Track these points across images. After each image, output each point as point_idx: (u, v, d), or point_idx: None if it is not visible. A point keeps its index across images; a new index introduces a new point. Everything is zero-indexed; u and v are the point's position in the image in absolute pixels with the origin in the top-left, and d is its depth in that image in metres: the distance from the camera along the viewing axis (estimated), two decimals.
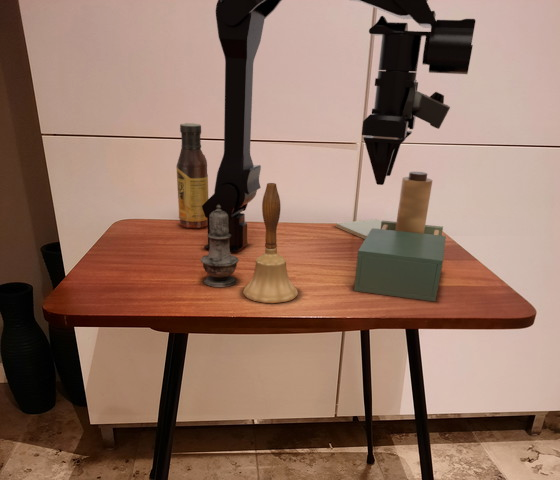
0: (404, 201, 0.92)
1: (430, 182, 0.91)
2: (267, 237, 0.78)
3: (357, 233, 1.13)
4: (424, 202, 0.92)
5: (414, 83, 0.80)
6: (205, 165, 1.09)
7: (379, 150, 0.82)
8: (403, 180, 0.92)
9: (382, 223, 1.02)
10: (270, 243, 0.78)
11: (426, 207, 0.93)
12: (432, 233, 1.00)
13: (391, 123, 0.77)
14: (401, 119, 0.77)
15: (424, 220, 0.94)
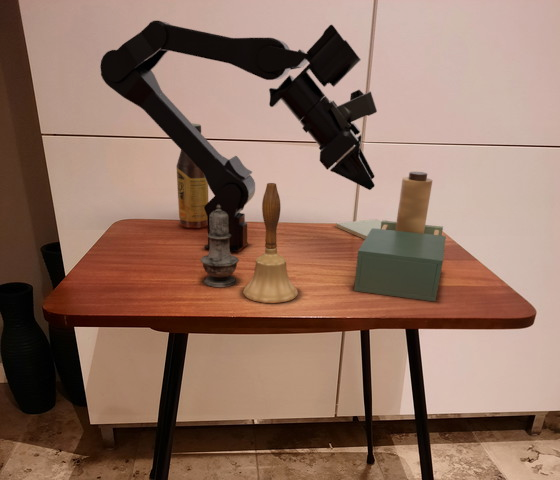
0: (404, 201, 0.92)
1: (430, 182, 0.91)
2: (267, 237, 0.78)
3: (357, 233, 1.13)
4: (424, 202, 0.92)
5: (330, 103, 0.87)
6: None
7: (349, 167, 0.87)
8: (403, 180, 0.92)
9: (382, 223, 1.02)
10: (270, 243, 0.78)
11: (426, 207, 0.93)
12: (432, 233, 1.00)
13: (339, 141, 0.83)
14: (344, 132, 0.82)
15: (424, 220, 0.94)
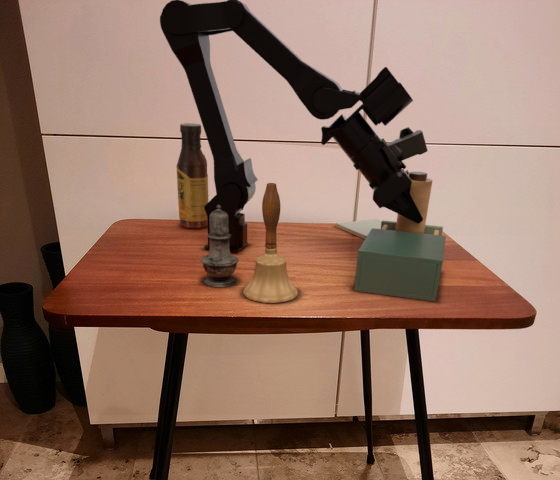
0: None
1: (430, 182, 0.91)
2: (267, 237, 0.78)
3: (357, 233, 1.13)
4: (424, 202, 0.92)
5: (382, 142, 0.88)
6: (205, 165, 1.09)
7: (399, 202, 0.91)
8: None
9: (382, 223, 1.02)
10: (270, 243, 0.78)
11: (426, 207, 0.93)
12: (432, 233, 1.00)
13: (394, 182, 0.84)
14: (398, 173, 0.84)
15: (424, 220, 0.94)
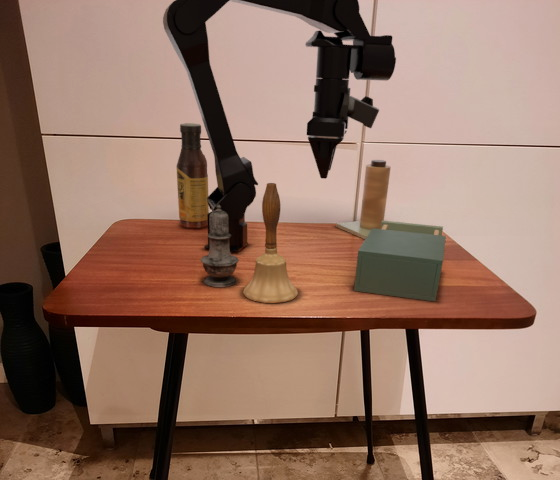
0: (374, 185, 1.11)
1: (390, 167, 1.11)
2: (267, 237, 0.78)
3: (357, 233, 1.13)
4: (388, 183, 1.12)
5: (348, 89, 0.92)
6: (205, 165, 1.09)
7: (322, 148, 0.94)
8: (371, 168, 1.10)
9: (382, 223, 1.02)
10: (270, 243, 0.78)
11: (387, 188, 1.13)
12: (432, 233, 1.00)
13: (332, 124, 0.89)
14: (340, 121, 0.89)
15: None
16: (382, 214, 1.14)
